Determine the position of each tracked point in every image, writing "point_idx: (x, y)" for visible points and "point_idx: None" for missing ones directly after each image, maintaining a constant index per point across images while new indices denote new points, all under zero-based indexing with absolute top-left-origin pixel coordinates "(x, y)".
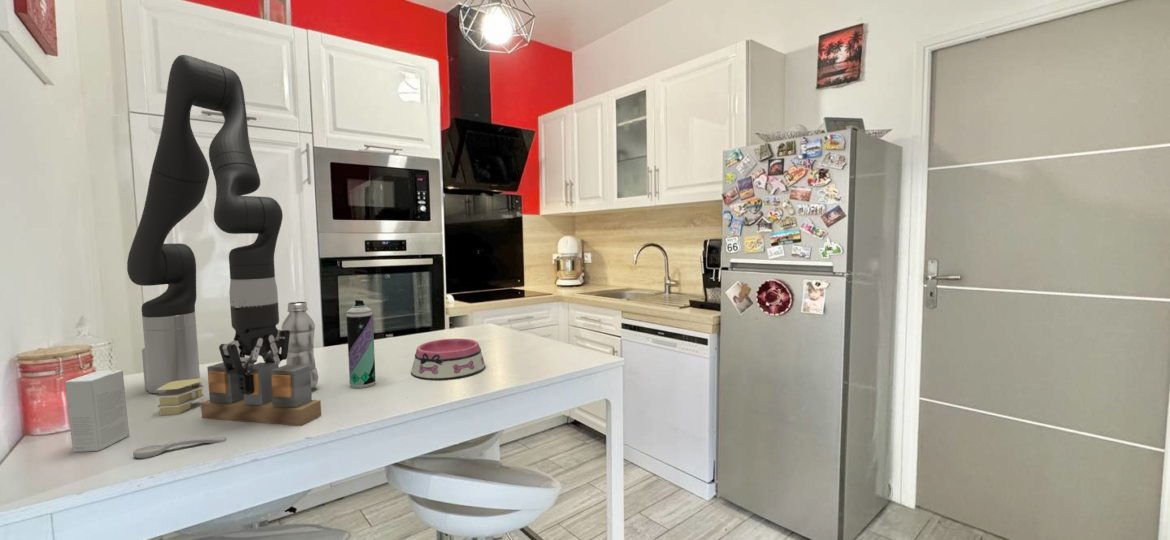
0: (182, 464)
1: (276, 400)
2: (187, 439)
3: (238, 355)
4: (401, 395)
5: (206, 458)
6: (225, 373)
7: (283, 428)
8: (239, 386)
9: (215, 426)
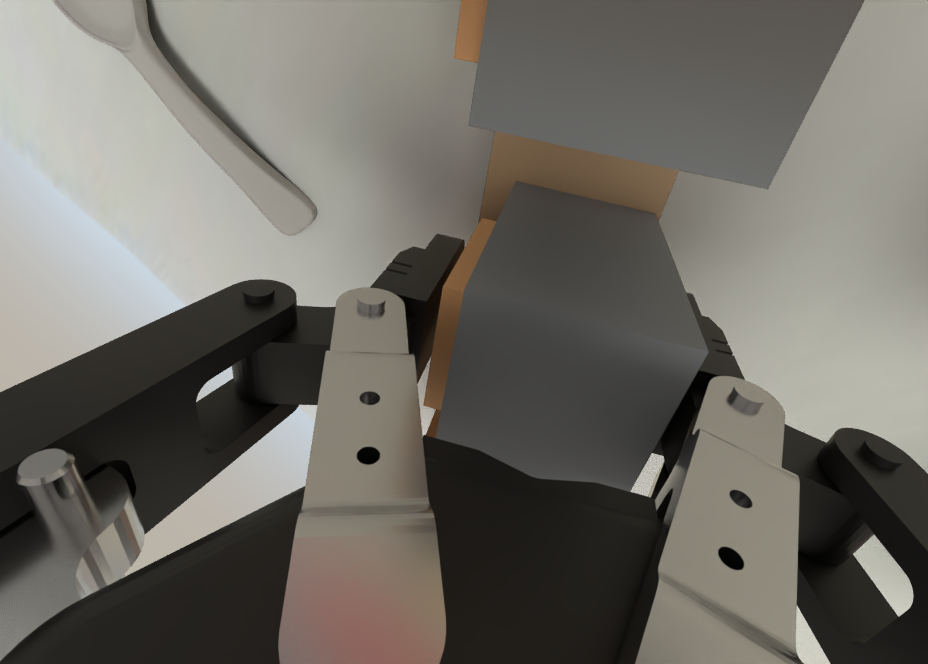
0: (117, 214)
1: None
2: (188, 115)
3: (144, 525)
4: None
5: (172, 263)
6: (474, 60)
7: (423, 379)
8: (392, 266)
9: (429, 46)
